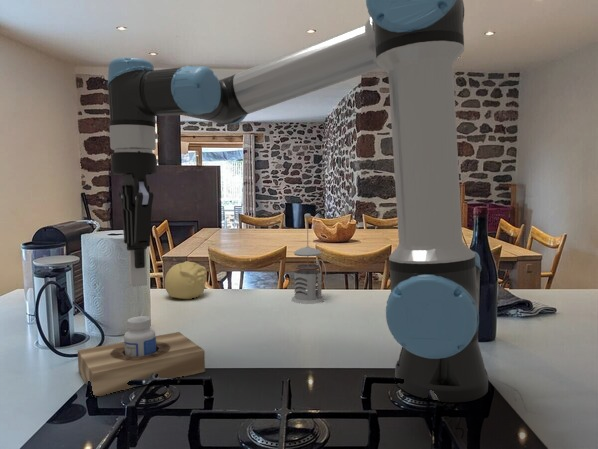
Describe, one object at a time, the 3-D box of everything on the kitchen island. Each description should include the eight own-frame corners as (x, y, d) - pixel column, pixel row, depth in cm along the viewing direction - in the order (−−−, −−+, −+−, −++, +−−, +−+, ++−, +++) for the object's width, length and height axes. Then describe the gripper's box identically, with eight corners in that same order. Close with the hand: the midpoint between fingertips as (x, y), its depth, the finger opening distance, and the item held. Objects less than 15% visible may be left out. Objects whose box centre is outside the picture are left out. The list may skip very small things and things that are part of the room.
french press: (309, 294, 149) (309, 211, 147) (336, 301, 140) (336, 213, 138) (284, 299, 143) (283, 213, 141) (310, 307, 134) (310, 215, 132)
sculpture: (198, 302, 139) (197, 265, 138) (158, 301, 141) (157, 264, 140) (212, 293, 150) (211, 258, 149) (175, 292, 153) (174, 257, 152)
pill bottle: (155, 364, 93) (153, 313, 92) (158, 374, 88) (156, 321, 87) (124, 368, 91) (122, 316, 90) (126, 379, 86) (124, 324, 85)
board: (204, 371, 89) (204, 350, 89) (93, 397, 79) (92, 373, 78) (179, 351, 100) (179, 331, 100) (78, 371, 89) (77, 350, 89)
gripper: (167, 150, 82) (171, 289, 85) (144, 154, 93) (148, 276, 95) (121, 149, 78) (126, 295, 80) (102, 153, 89) (107, 281, 91)
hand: (138, 285), depth 88 cm, fingers closed
